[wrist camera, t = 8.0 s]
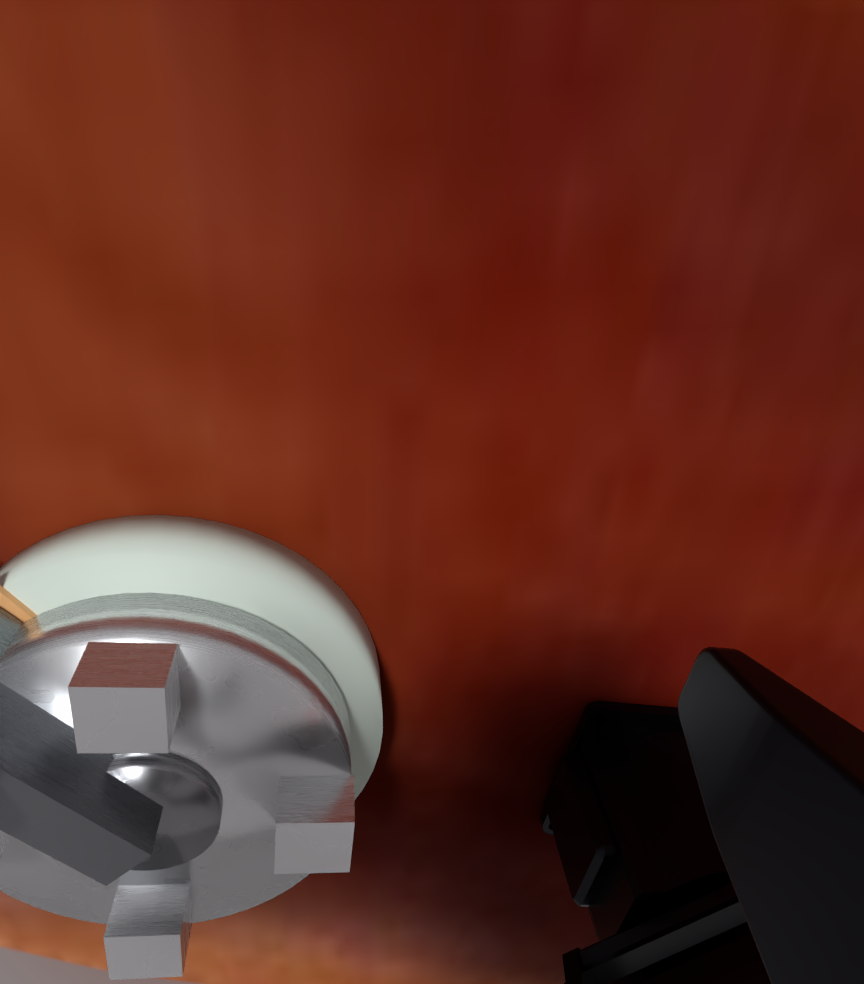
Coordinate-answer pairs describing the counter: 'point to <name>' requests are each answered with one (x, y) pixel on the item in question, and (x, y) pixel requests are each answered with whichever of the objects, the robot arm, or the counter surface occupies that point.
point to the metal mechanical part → (165, 768)
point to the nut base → (212, 595)
